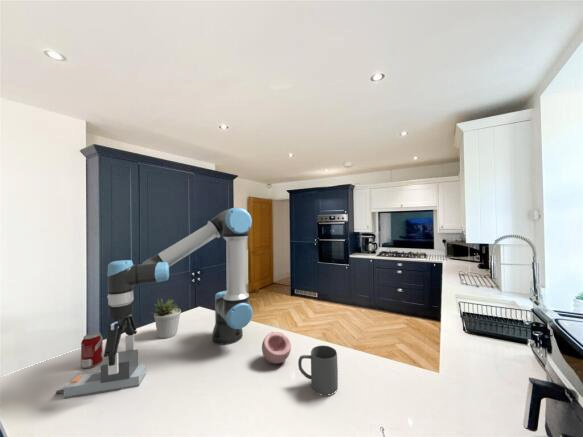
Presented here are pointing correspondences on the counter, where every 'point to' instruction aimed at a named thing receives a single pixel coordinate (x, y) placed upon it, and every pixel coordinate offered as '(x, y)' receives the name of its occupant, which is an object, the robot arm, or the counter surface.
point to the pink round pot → (276, 347)
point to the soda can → (91, 350)
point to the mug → (322, 369)
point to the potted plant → (166, 319)
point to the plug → (121, 366)
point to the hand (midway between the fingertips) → (122, 362)
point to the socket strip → (92, 384)
